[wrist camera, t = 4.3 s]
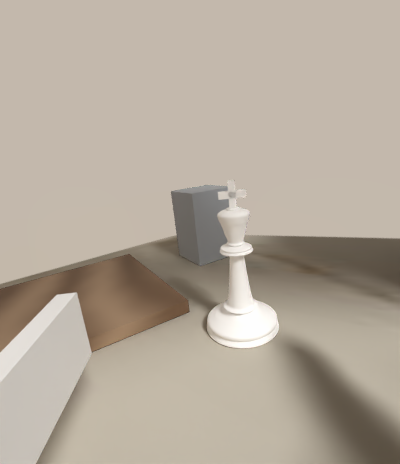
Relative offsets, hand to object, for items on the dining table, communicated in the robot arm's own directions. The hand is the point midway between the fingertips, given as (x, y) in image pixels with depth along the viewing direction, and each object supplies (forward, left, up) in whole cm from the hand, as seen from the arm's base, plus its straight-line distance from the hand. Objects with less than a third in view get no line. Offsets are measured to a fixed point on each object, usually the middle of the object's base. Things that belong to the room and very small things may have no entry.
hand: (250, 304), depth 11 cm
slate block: (-10, -20, -6) cm, 23 cm away
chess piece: (-4, -6, -6) cm, 10 cm away
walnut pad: (+5, -18, -6) cm, 19 cm away
